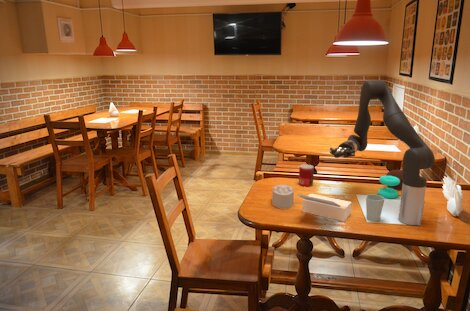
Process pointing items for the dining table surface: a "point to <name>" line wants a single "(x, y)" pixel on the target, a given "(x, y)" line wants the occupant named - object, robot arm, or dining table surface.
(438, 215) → the dining table surface
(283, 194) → the paw print tray
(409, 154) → the robot arm
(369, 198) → the cup
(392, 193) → the pair of teal discs
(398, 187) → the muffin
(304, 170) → the canned food
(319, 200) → the flap
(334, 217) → the carton
